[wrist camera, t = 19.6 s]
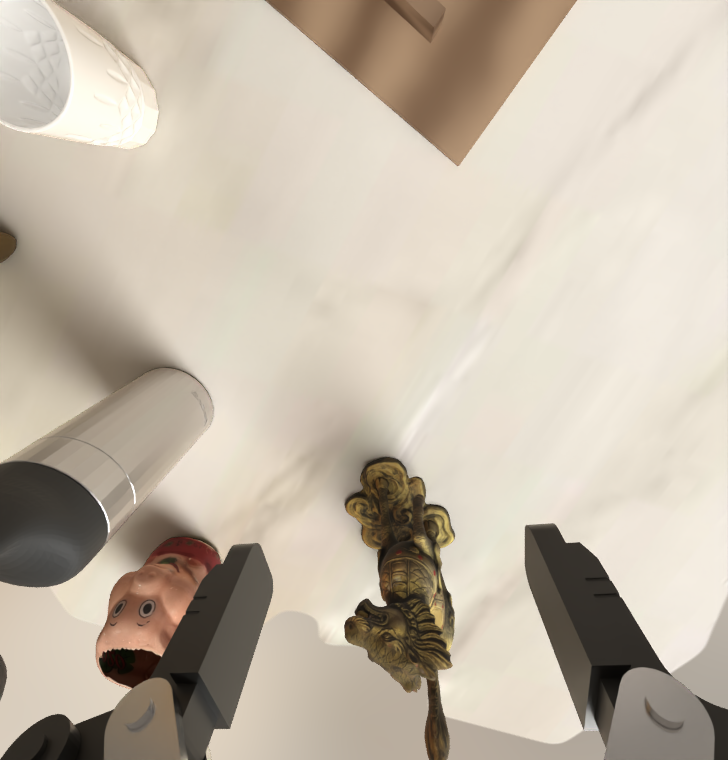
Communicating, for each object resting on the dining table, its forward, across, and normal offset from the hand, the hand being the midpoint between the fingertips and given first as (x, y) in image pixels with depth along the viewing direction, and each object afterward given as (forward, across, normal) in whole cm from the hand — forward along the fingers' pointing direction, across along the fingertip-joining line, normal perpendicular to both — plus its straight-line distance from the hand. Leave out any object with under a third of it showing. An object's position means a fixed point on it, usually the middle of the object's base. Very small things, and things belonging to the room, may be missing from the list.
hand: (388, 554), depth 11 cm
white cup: (+28, +20, -22) cm, 41 cm away
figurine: (+28, +2, +29) cm, 40 cm away
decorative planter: (+28, +33, +32) cm, 54 cm away
